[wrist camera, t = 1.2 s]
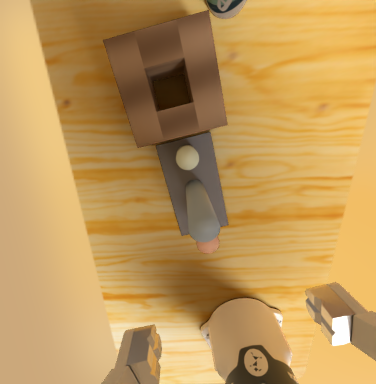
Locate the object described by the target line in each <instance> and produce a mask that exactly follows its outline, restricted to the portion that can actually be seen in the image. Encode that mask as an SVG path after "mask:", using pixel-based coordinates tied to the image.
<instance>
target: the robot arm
mask: <svg viewBox="0 0 376 384" xmlns="http://www.w3.org/2000/svg"><path fill="white" fill-rule="evenodd" d="M305 293H306V296H307V297H308V298H307V300H306V306H307V309H308V312H309V313H310V315H311V317H312V318H313V320H314V321H315V322H316V323H318V324H320V325H321V331H322V332H323V333H324V335H325V336H326V338H327V339H328V341H329V342H330V343H331V345H332V346H335V345H340V344H346V343H351V344H352V345H354V346H355V347H357V348H358V349H360V350H361V351H362V352H364V353H365V354H367V355H368V356H370V357H371V358H372V359H374V360H375V361H376V313H375V312H373V311H369V312H368V311H367V310H366V309H365V308H364V307H363V306H362V305H361V304H360V303H359V302H358V301H357V300H355V299H354V298H353V297H352V296H351V295H350V294H349V293H348V292H347V291H346V290H345V289H344V288H343V287H342V286H341V285H340V284H338V283H336V282H335V283H330V284H326V285H321V286H317V287H313V288H309V289H306V291H305ZM282 319H283V316H282V314H281V312H280V311H279V310H277V309H273V308H270V307H268V306H267V305H265V304H264V303H262V302H261V301H258V300H255V299H251V298H239V299H234V300H231V301H228V302H226V303H224V304H222V305H221V306H219V307H218V308H217V309H216V310H215V311H214V313H213V314H212V316H211V318H210V319H209V321H208V322H206V323H205V324H204V325H203V326H202V327H201V334H202V335H203V337H204V339H205V340H206V342H207V343H208V345H209V346H210V348H211V350H212V355H213V361H214V367H215V370H216V371H218V374H219V375H220V376H221V377H222V378H223V379H224V380H225V382H226V383H225V384H298V381H297V379H296V378H295V376H294V374H293V372H292V370H291V368H290V363H291V356H292V352H291V349H290V347H289V345H288V342H287V340H286V338H285V336H284V334H283V332H282V329H281V325H282ZM161 351H162V347H161V339H160V336H159V334H157V333H156V327H155V325H149V326H144V327H139V328H134V329H130V330H126V331H125V333H124V335H123V339H122V343H121V347H120V350H119V354H118V358H117V362H116V365H115V368H114V369H112V370H111V371H110V372H109V374H108V375H107V377H106V378H105V379H104V381H103V382H102V384H159V378H160V365H159V363H158V361H159V359H160V357H161Z"/></svg>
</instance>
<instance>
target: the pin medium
mask: <svg viewBox="0 0 376 384" xmlns="http://www.w3.org/2000/svg"><path fill="white" fill-rule="evenodd" d="M197 247H198V249H199V250H200V251H201V252H203V253H212V252H214V251H216V250H217V249H218V247H219V239H218V236H217V237H216V238H215V239H213V240H212V241H209V242H198V241H197Z"/></svg>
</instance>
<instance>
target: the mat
mask: <svg viewBox="0 0 376 384" xmlns="http://www.w3.org/2000/svg"><path fill="white" fill-rule="evenodd" d="M186 144H187V145H191V146H192V147H194V149H195V150H196V151H197V152H198V155H199V162H198V164H197V166H196V167H195V168H193V169H191V170H184V169H182V168H180V167H179V166H178V164H177V162H176V154H177V151H178V149H179V148H180V147H181V146H182V145H186ZM156 149H157V152H158V156H159V159H160V163H161V166H162V169H163V173H164V176H165V180H166V183H167V187H168V190H169V193H170V197H171V200H172V204H173V207H174V211H175V214H176V217H177V221H178V224H179V228H180V231H181V235H182V236H183V235H187V234H190V233H189V228H188V214H187V200H186V185H187V183H188V182H189V181H191V180H199V181H201V182H202V183H203V185H204V188H205V190H206V192H207V195H208V197H209V200H210V202H211V204H212V207H213V209H214V211H215V214H216V216H217V219H218V221H219V223H220V227H222V226H226V225H228V220H227V215H226V210H225V205H224V199H223V194H222V189H221V184H220V179H219V174H218V169H217V164H216V158H215V153H214V148H213V143H212V138H211V133H210V132H208V133H204V134H201V135H197V136H193V137H189V138H185V139H181V140H177V141H173V142H169V143H165V144H161V145H158V146H156Z"/></svg>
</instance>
